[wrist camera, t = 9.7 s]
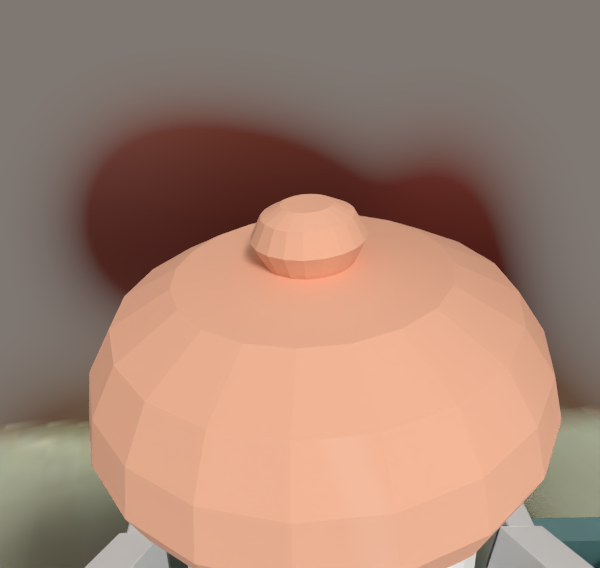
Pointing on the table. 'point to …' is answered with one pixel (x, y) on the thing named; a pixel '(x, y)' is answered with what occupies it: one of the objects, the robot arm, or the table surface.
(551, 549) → the robot arm
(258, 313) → the salt shaker
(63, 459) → the table surface
